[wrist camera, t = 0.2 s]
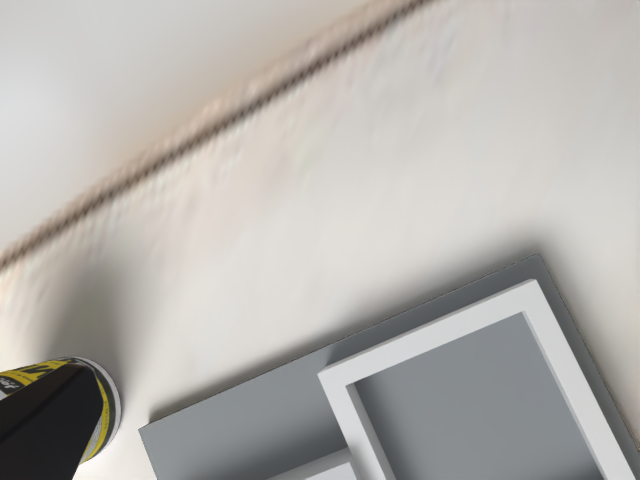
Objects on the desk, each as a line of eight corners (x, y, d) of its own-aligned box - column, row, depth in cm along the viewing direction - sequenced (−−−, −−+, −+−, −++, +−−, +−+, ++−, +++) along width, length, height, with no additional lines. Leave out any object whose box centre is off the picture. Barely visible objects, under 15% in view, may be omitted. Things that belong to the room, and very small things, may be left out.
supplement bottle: (113, 345, 26) (-41, 384, 17) (133, 450, 25) (-16, 540, 17) (23, 365, 27) (-164, 410, 18) (40, 466, 26) (-143, 558, 18)
